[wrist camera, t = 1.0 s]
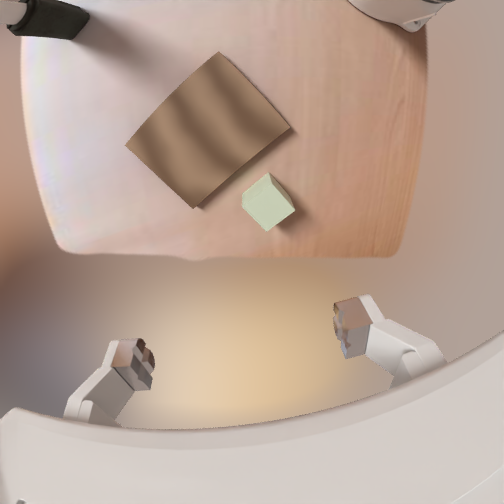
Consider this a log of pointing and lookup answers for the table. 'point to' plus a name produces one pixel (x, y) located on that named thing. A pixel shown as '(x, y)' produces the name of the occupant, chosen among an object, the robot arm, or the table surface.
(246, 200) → the cube
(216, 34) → the table surface
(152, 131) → the serving board
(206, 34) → the table surface
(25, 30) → the black and grey rod
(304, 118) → the table surface
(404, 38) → the table surface
